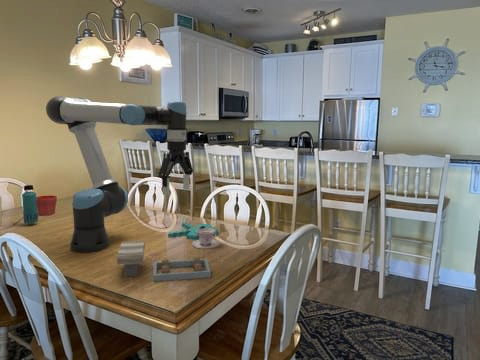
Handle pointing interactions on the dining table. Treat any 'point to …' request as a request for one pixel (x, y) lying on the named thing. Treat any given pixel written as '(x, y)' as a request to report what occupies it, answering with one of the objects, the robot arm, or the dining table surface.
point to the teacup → (205, 239)
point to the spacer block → (131, 269)
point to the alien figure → (191, 231)
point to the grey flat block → (131, 253)
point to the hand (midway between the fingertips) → (176, 192)
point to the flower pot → (46, 205)
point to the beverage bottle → (29, 205)
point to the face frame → (166, 275)
